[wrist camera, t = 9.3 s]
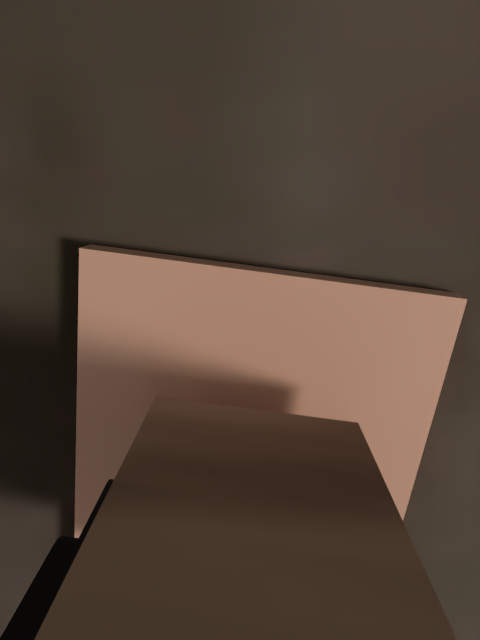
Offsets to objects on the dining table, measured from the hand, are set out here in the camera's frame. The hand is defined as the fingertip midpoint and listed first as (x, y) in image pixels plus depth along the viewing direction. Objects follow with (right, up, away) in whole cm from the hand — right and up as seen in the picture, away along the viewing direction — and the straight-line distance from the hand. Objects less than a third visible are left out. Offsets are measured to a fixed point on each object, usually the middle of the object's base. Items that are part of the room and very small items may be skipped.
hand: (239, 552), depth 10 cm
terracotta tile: (0, +1, +4) cm, 4 cm away
